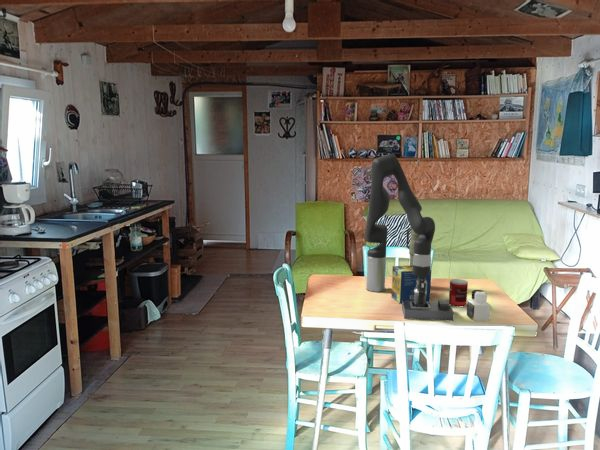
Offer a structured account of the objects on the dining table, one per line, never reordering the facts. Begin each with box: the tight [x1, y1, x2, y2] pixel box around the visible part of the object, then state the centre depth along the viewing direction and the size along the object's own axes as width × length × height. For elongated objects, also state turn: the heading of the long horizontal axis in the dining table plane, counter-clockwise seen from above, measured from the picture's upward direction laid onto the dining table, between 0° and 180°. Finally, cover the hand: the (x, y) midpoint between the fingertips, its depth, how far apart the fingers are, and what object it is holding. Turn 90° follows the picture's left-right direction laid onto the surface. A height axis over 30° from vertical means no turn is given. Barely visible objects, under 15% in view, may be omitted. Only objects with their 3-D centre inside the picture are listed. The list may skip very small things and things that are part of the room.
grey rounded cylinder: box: [414, 287, 427, 307], centre depth 222 cm, size 5×5×10 cm
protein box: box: [391, 264, 432, 305], centre depth 243 cm, size 10×15×16 cm
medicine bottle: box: [466, 289, 491, 322], centre depth 218 cm, size 7×7×12 cm
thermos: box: [406, 227, 419, 266], centre depth 263 cm, size 9×12×35 cm
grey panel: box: [401, 299, 454, 322], centre depth 222 cm, size 14×20×6 cm
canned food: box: [448, 278, 469, 307], centre depth 237 cm, size 8×8×11 cm
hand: (419, 302), depth 222 cm, fingers closed on grey rounded cylinder, 5 cm apart
